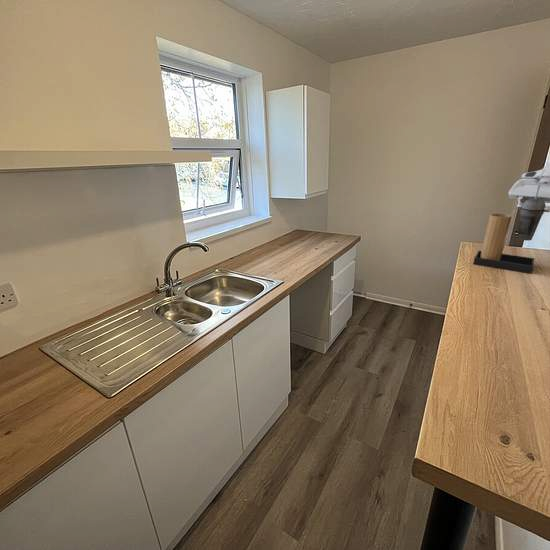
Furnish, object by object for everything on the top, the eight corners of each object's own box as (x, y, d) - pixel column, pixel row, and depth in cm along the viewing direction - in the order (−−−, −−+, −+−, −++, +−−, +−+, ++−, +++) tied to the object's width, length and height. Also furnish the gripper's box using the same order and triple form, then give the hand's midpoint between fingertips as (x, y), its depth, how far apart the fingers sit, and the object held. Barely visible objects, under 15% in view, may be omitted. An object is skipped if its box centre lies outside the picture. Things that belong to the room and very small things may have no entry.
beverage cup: (512, 240, 116) (527, 186, 108) (512, 235, 121) (526, 184, 113) (537, 242, 112) (554, 187, 104) (535, 237, 117) (551, 184, 109)
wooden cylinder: (496, 260, 128) (508, 213, 121) (501, 266, 122) (514, 217, 115) (477, 259, 131) (488, 213, 123) (481, 264, 125) (493, 216, 117)
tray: (532, 265, 122) (534, 258, 121) (531, 273, 114) (533, 266, 113) (477, 256, 133) (478, 250, 132) (473, 264, 125) (474, 257, 124)
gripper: (588, 187, 106) (568, 219, 105) (520, 183, 123) (502, 211, 122) (588, 175, 103) (567, 207, 102) (518, 173, 119) (500, 201, 118)
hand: (531, 209), depth 112 cm, fingers closed on beverage cup, 7 cm apart
